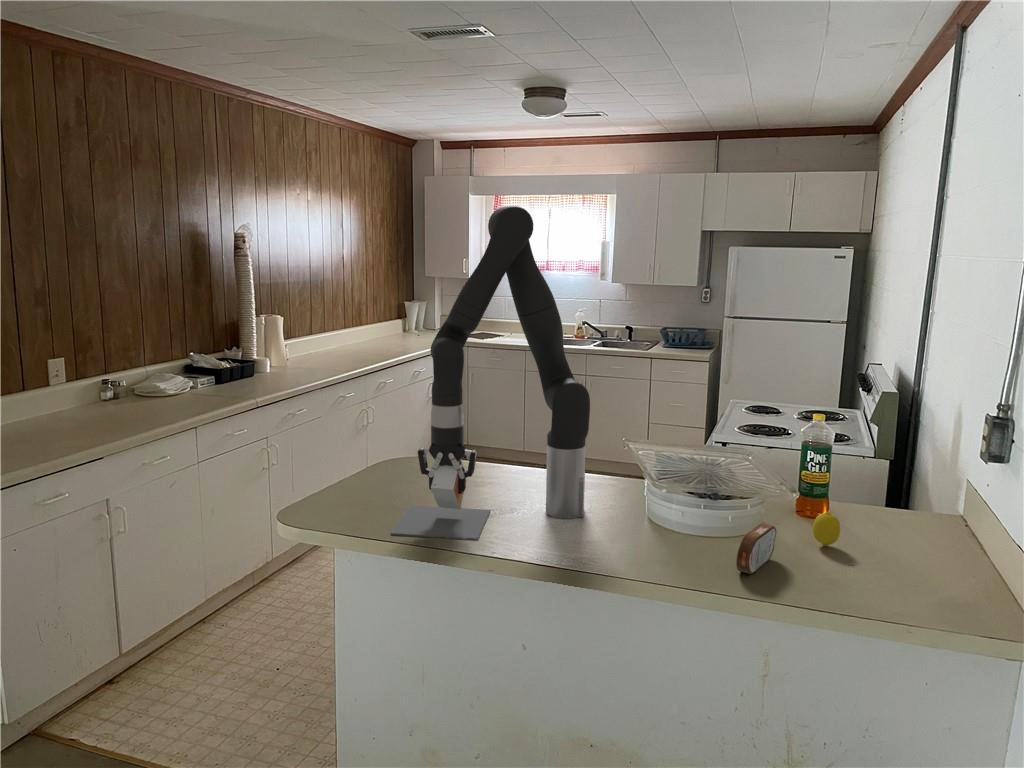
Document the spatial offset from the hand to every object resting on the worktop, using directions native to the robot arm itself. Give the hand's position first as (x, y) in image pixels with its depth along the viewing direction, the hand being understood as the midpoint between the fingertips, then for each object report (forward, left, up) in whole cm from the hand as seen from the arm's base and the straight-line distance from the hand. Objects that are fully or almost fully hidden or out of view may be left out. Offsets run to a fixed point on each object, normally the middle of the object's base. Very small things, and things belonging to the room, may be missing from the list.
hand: (447, 491), depth 179 cm
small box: (0, -6, -3) cm, 6 cm away
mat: (+1, +1, -7) cm, 7 cm away
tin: (-68, +15, -8) cm, 70 cm away
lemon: (-85, +2, -7) cm, 85 cm away
